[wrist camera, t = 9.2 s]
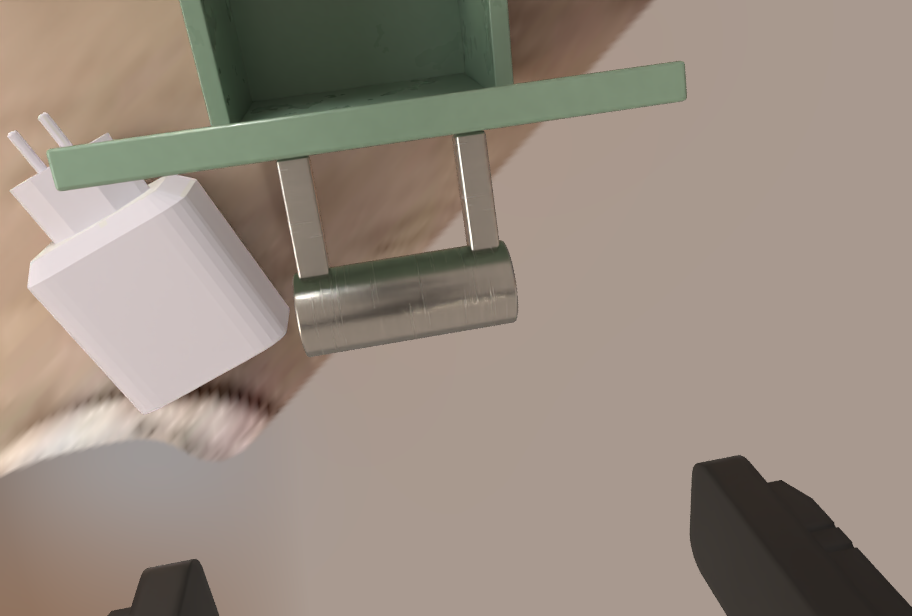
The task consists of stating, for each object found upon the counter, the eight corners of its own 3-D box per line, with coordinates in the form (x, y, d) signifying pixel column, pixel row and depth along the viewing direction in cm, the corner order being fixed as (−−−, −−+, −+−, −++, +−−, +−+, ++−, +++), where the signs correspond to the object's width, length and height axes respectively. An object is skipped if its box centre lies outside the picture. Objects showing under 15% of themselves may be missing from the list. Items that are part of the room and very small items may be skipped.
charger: (122, 67, 36) (291, 303, 43) (-32, 159, 37) (157, 377, 43) (94, 80, 32) (286, 339, 38) (-80, 183, 32) (138, 421, 39)
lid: (43, 149, 14) (114, 417, 15) (686, 59, 15) (702, 315, 16) (214, 147, 29) (242, 276, 31) (517, 104, 31) (531, 230, 32)
